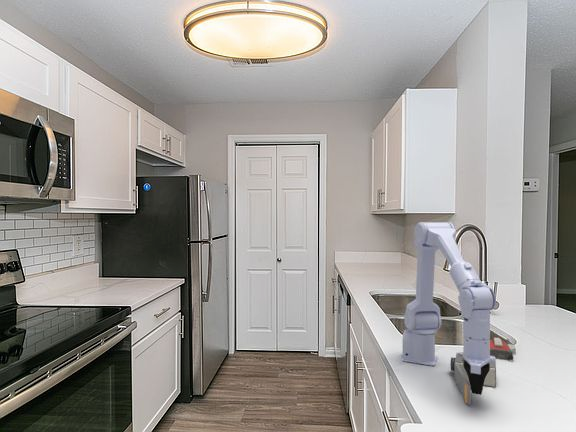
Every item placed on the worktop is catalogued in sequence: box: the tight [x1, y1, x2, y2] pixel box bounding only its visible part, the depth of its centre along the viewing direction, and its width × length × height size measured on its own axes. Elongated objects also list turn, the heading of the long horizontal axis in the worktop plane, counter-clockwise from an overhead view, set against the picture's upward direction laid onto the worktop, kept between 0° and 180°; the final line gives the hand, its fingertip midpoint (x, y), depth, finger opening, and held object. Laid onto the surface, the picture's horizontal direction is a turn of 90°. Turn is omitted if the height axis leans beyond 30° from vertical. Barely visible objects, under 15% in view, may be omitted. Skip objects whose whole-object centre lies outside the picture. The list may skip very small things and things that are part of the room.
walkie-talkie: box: [490, 336, 517, 361], centre depth 130 cm, size 9×4×20 cm
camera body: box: [450, 351, 497, 388], centre depth 108 cm, size 11×8×6 cm
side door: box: [454, 363, 472, 405], centre depth 99 cm, size 14×1×5 cm, turn 168°
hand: (476, 393), depth 93 cm, fingers closed
